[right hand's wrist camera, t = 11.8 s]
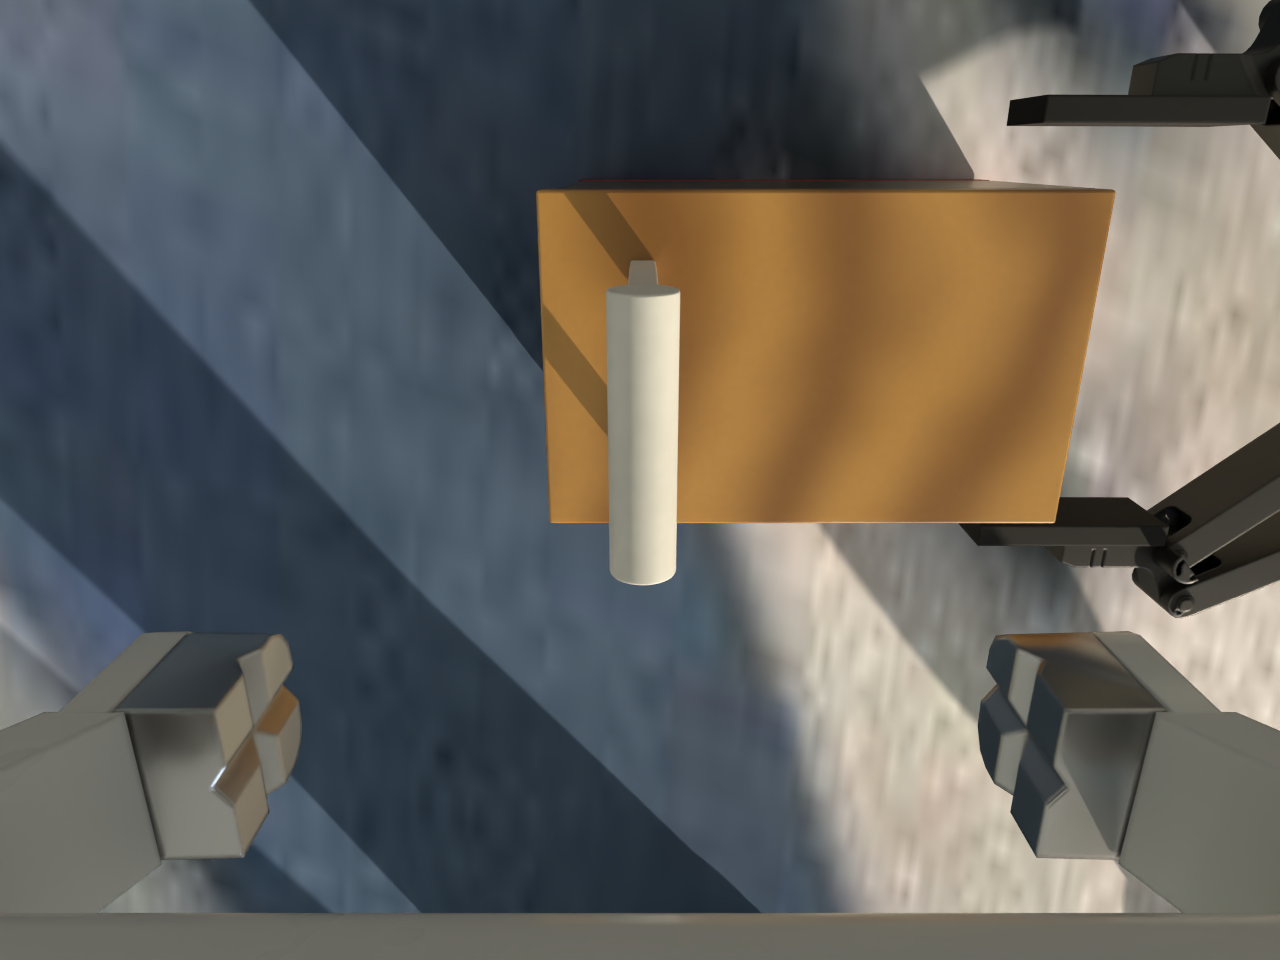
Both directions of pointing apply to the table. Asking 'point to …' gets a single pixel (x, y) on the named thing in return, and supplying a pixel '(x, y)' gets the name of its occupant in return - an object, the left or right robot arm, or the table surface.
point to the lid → (810, 356)
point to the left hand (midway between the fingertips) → (991, 332)
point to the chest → (807, 184)
